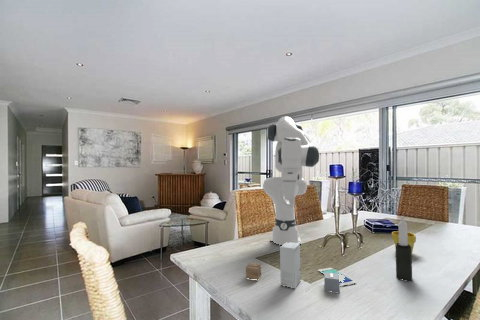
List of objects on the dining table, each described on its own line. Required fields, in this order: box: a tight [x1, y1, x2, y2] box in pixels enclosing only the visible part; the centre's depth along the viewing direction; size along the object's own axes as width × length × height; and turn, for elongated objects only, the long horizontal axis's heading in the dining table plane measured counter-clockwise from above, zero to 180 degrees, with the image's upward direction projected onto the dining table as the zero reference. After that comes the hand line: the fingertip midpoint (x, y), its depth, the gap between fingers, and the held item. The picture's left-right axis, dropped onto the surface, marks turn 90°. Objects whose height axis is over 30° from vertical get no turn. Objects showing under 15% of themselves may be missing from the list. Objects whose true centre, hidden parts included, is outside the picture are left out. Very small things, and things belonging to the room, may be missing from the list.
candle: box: [395, 215, 413, 282], centre depth 98 cm, size 5×5×25 cm
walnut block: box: [245, 262, 262, 280], centre depth 99 cm, size 5×5×5 cm
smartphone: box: [317, 267, 357, 285], centre depth 99 cm, size 8×1×15 cm
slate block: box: [323, 272, 340, 294], centre depth 90 cm, size 5×5×5 cm
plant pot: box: [391, 230, 417, 252], centre depth 126 cm, size 10×10×10 cm
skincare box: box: [279, 242, 302, 289], centre depth 95 cm, size 8×6×15 cm
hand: (292, 206), depth 104 cm, fingers closed
